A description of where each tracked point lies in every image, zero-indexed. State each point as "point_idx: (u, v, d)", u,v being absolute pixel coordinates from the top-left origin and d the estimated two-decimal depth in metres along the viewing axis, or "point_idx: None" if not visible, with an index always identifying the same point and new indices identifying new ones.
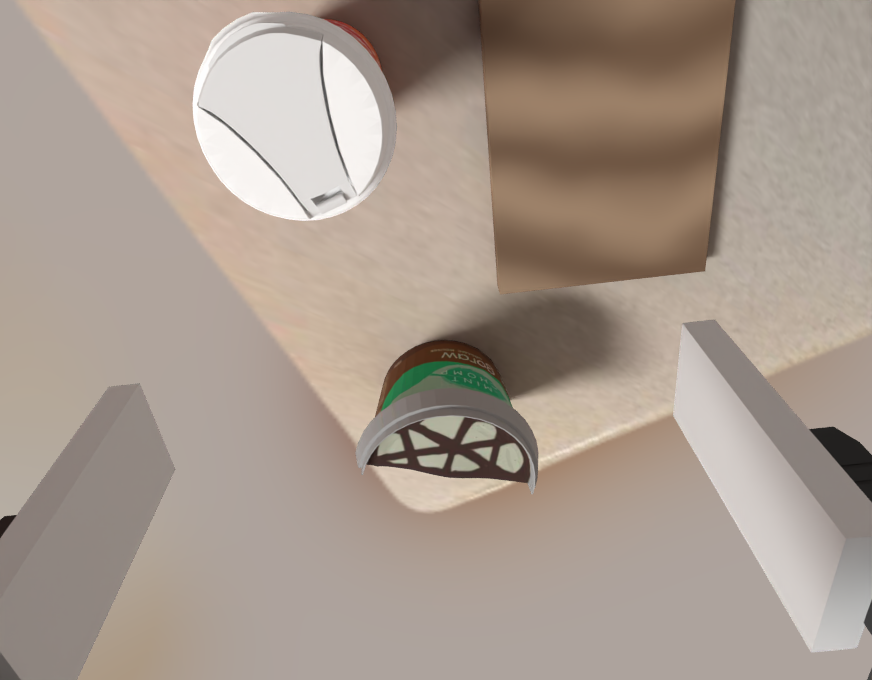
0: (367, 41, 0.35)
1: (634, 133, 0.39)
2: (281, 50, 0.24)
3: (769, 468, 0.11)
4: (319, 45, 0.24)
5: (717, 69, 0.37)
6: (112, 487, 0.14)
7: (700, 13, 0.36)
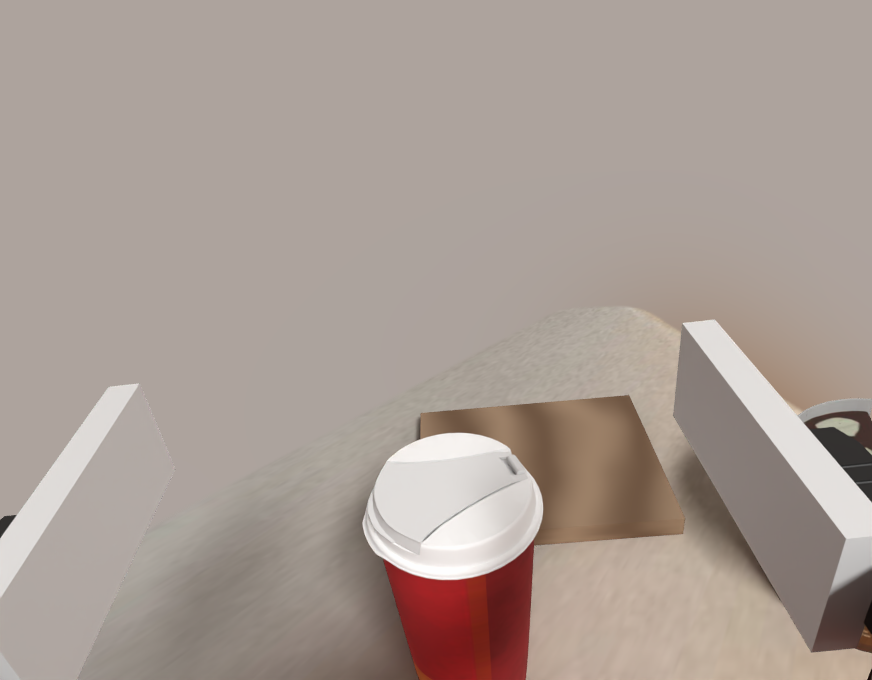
0: None
1: (522, 444, 0.51)
2: (388, 485, 0.29)
3: (769, 468, 0.11)
4: (389, 463, 0.31)
5: (479, 412, 0.55)
6: (112, 487, 0.14)
7: (444, 424, 0.54)
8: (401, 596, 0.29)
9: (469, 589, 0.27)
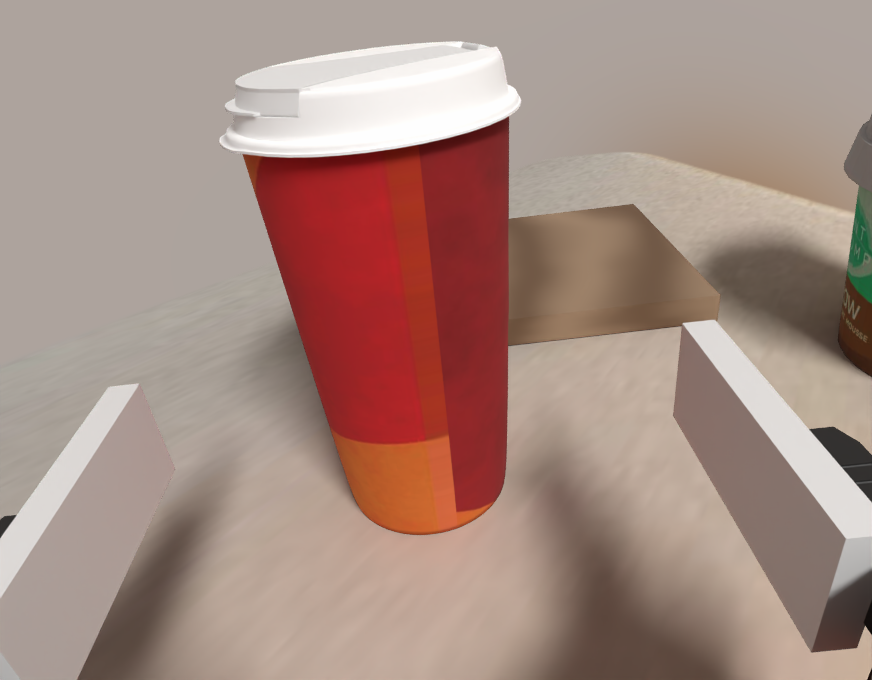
0: None
1: None
2: (263, 77, 0.18)
3: (769, 468, 0.11)
4: (271, 68, 0.19)
5: None
6: (112, 487, 0.14)
7: None
8: (289, 261, 0.18)
9: (394, 196, 0.15)
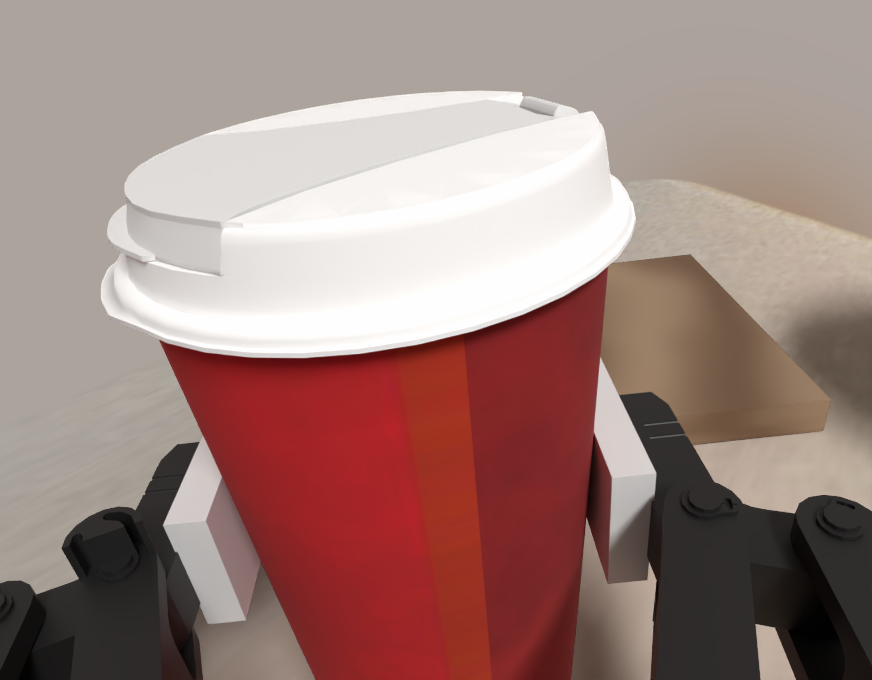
0: None
1: None
2: (184, 161, 0.10)
3: None
4: None
5: None
6: None
7: None
8: (229, 479, 0.10)
9: (413, 414, 0.08)
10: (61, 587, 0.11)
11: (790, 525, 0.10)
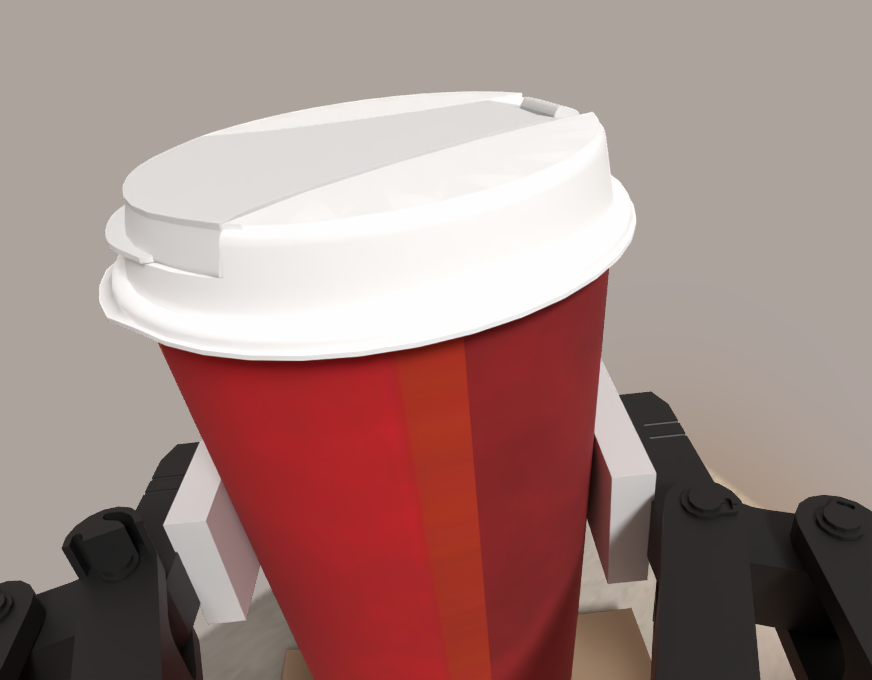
0: None
1: None
2: (184, 162, 0.10)
3: None
4: (206, 138, 0.11)
5: None
6: None
7: None
8: (227, 482, 0.10)
9: (414, 417, 0.08)
10: (61, 587, 0.11)
11: (790, 525, 0.10)
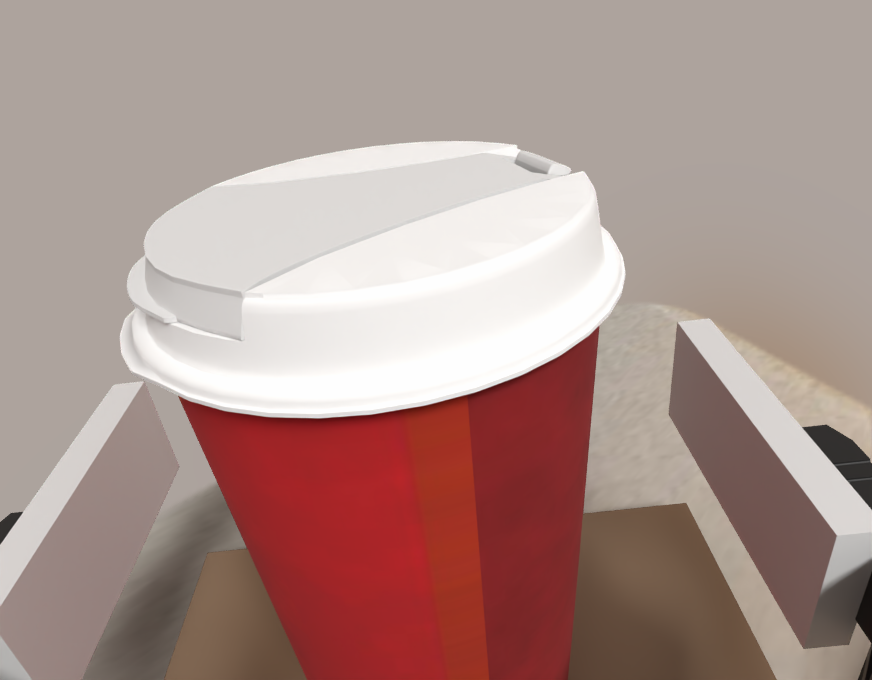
0: None
1: None
2: (198, 215, 0.11)
3: (762, 466, 0.11)
4: (217, 189, 0.12)
5: None
6: (118, 484, 0.14)
7: (250, 589, 0.23)
8: (240, 519, 0.11)
9: (421, 465, 0.09)
10: None
11: None
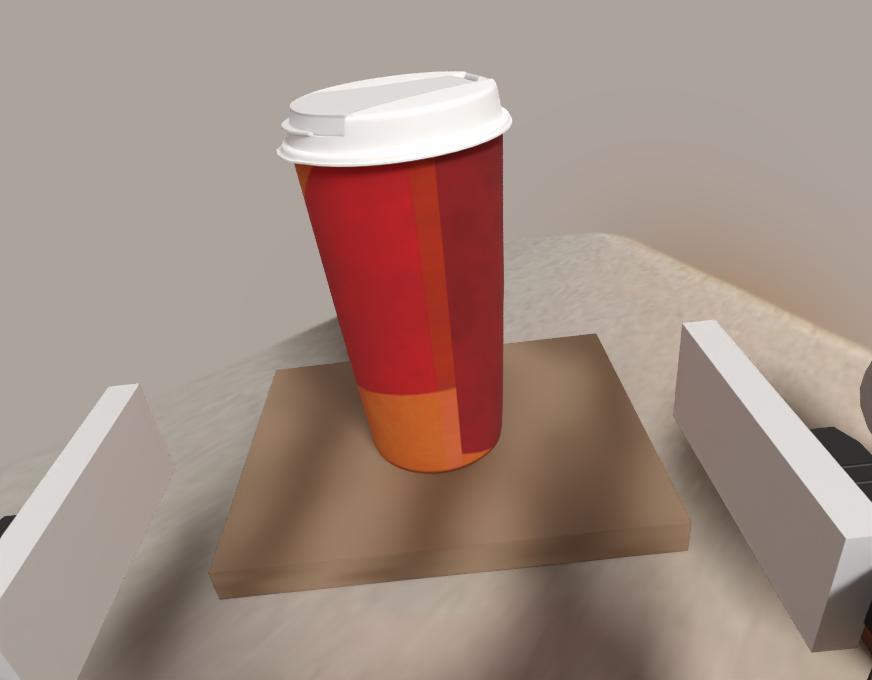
0: None
1: None
2: (309, 102, 0.23)
3: (769, 468, 0.11)
4: (313, 94, 0.24)
5: None
6: (112, 487, 0.14)
7: (307, 384, 0.34)
8: (331, 247, 0.22)
9: (415, 196, 0.20)
10: None
11: None
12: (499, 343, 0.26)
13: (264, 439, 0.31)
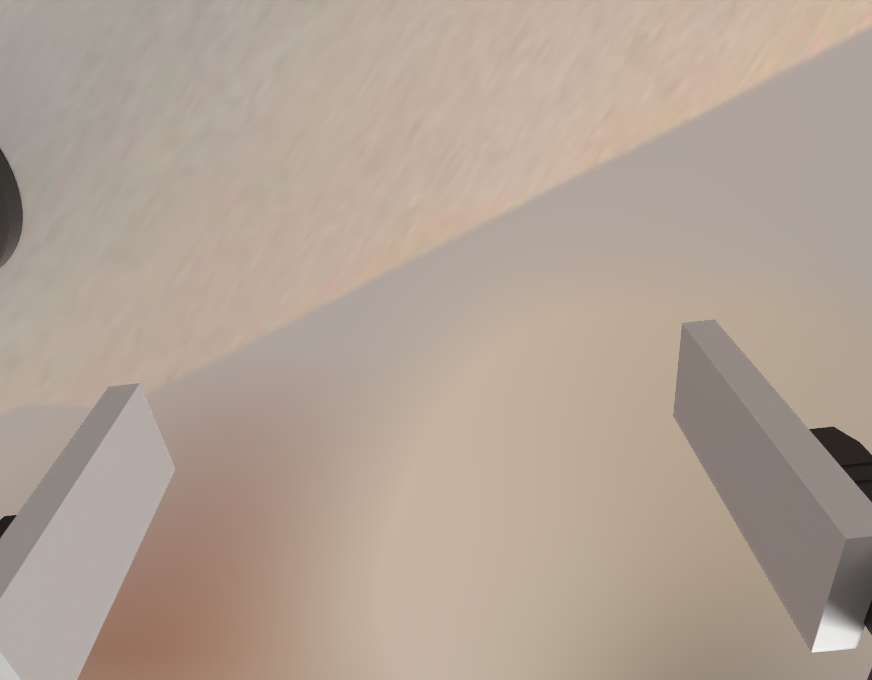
0: None
1: None
2: None
3: (769, 468, 0.11)
4: None
5: None
6: (112, 487, 0.14)
7: None
8: None
9: None
10: None
11: None
12: None
13: None
